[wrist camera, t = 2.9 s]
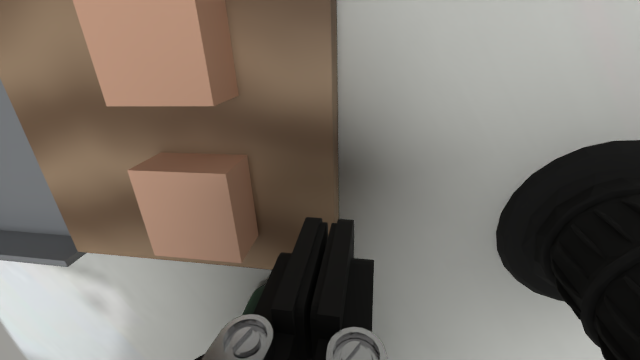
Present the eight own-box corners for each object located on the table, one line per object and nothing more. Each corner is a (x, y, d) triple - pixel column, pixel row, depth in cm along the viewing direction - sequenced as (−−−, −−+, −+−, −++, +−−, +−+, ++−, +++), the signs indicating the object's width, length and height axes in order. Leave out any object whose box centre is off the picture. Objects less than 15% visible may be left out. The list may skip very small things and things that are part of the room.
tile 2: (258, 235, 18) (241, 263, 16) (181, 229, 19) (154, 255, 17) (247, 154, 16) (225, 174, 14) (160, 152, 17) (127, 170, 15)
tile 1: (238, 95, 15) (213, 106, 12) (145, 96, 16) (106, 106, 13) (220, -30, 13) (186, -44, 10) (114, -21, 13) (62, -32, 11)
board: (339, 254, 20) (335, 275, 18) (101, 235, 23) (77, 251, 21) (335, -101, 13) (327, -124, 11) (-17, -61, 16) (-68, -73, 14)
